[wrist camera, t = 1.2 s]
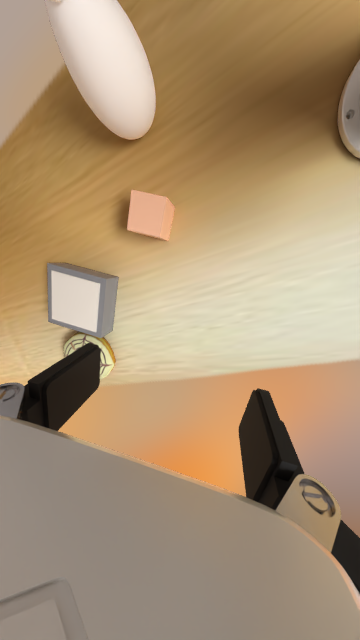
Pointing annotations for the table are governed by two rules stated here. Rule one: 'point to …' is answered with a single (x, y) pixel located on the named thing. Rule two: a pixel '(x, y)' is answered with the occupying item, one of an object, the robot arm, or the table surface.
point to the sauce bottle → (106, 63)
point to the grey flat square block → (81, 298)
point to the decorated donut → (106, 350)
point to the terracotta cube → (150, 215)
